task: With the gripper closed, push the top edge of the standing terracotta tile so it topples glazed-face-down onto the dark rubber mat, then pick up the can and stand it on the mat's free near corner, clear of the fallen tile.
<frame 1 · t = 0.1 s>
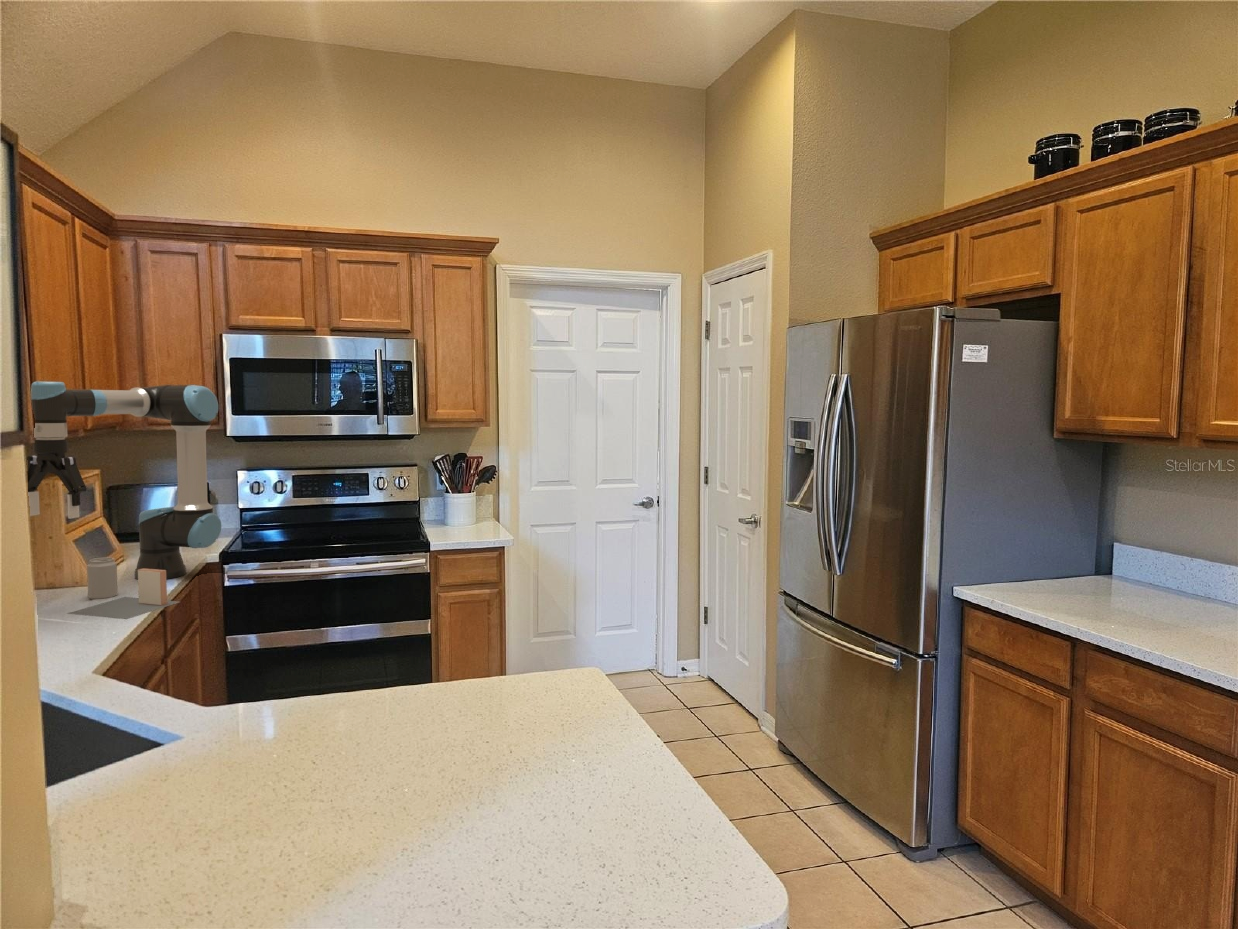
hand: (53, 516, 211), 28 cm above the countertop, fingers open, 13 cm apart
tile: (153, 603, 226), point 1 cm above the countertop, touching mat
mat: (125, 609, 222), on the countertop
can: (103, 598, 234), on the countertop
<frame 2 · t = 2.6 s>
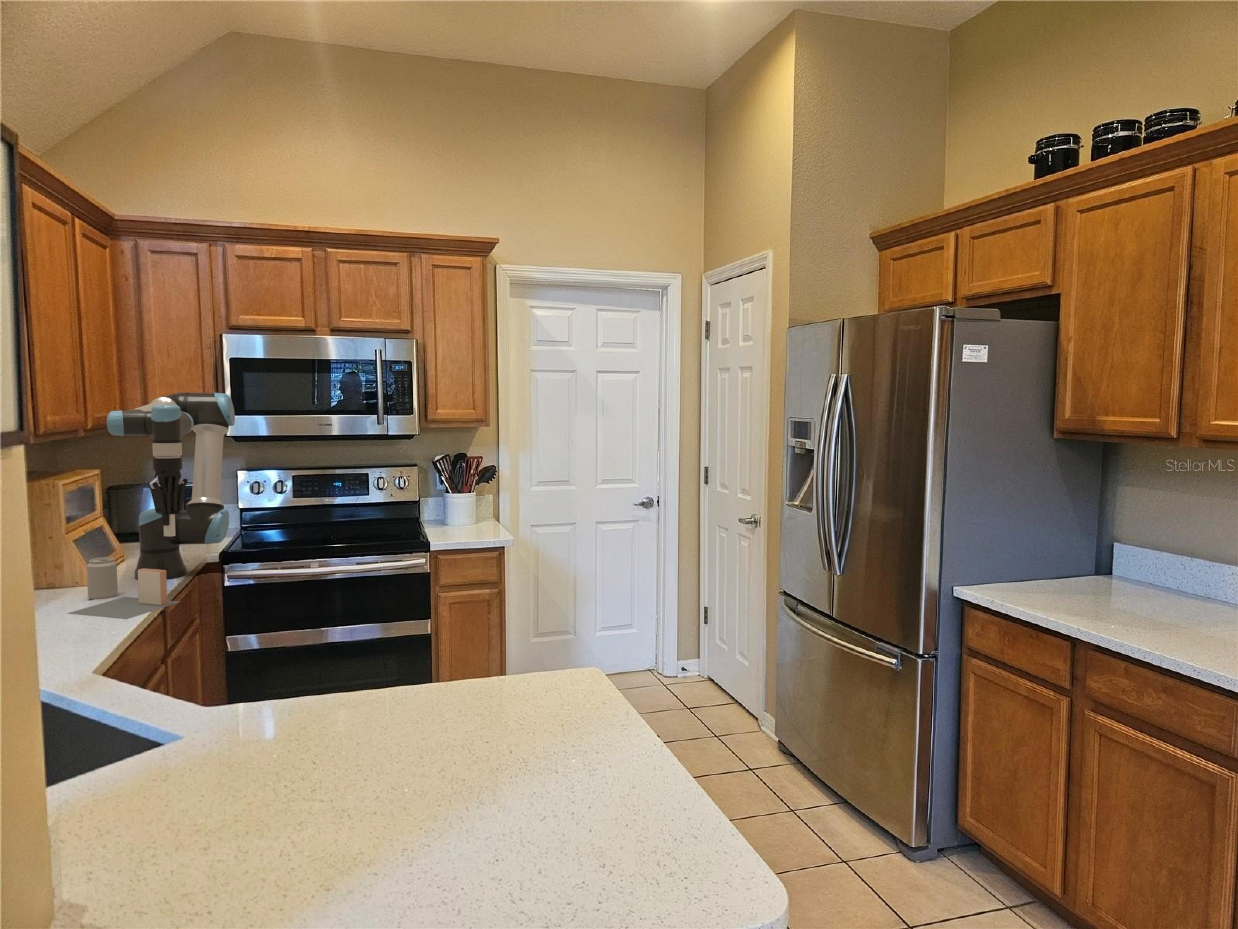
hand: (169, 535, 231), 20 cm above the countertop, fingers closed
nothing on the countertop moved.
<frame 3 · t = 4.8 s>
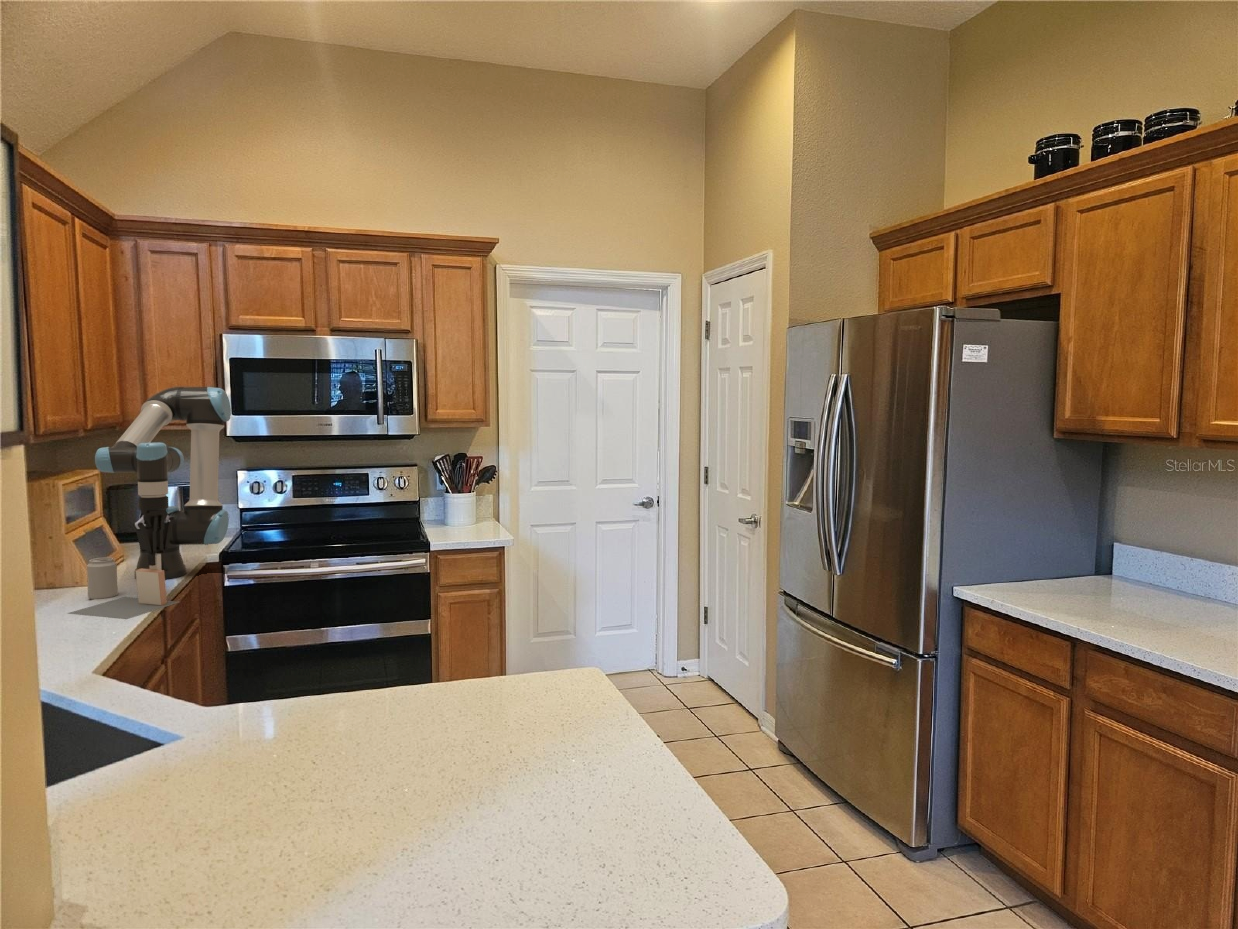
hand: (155, 575, 227), 9 cm above the countertop, fingers closed
tile: (152, 603, 226), point 1 cm above the countertop, touching gripper, mat
everything else where it was.
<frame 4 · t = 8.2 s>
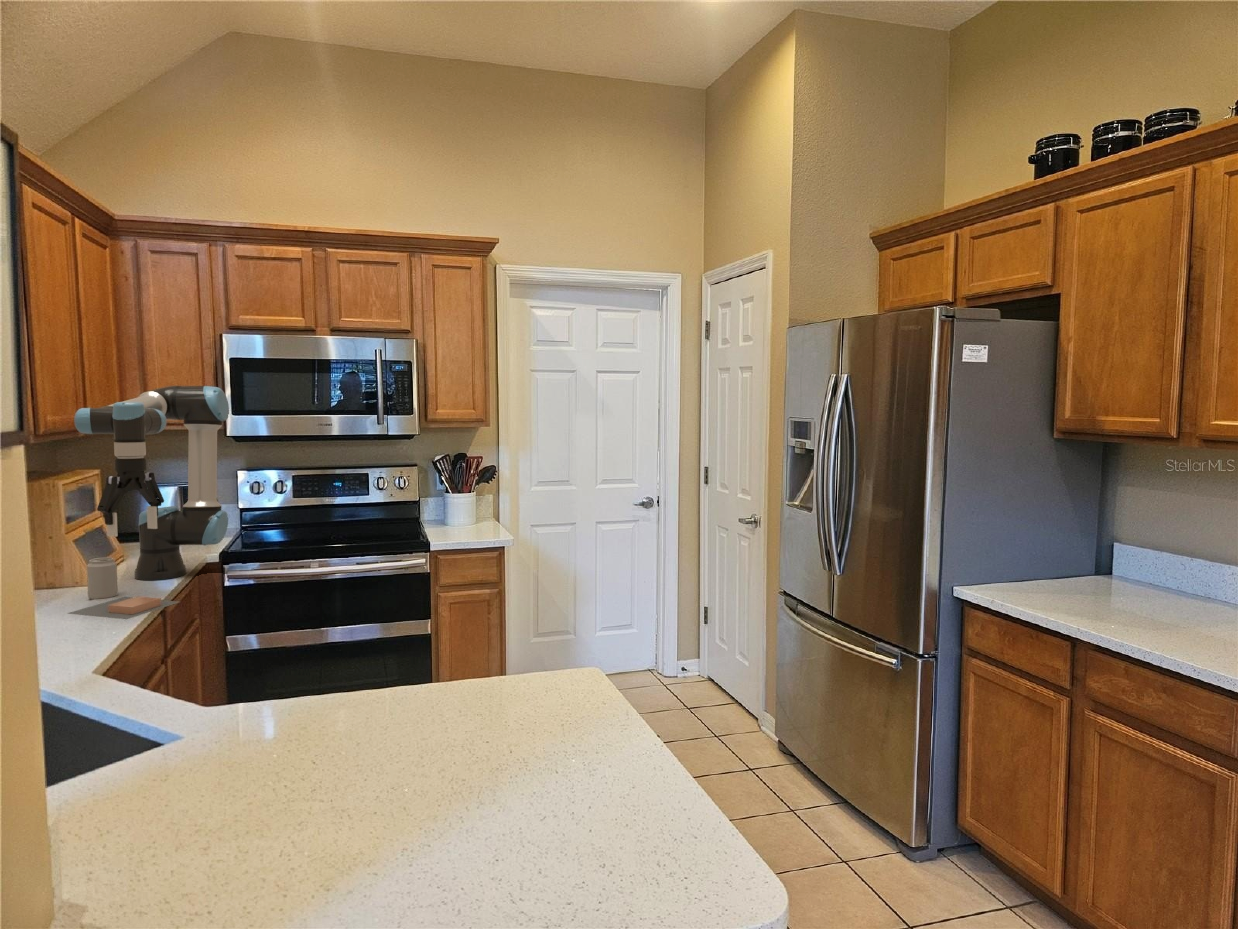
hand: (133, 532, 219), 23 cm above the countertop, fingers open, 13 cm apart
tile: (149, 600, 225), point 2 cm above the countertop, tilted 90°, touching mat
everything else where it was.
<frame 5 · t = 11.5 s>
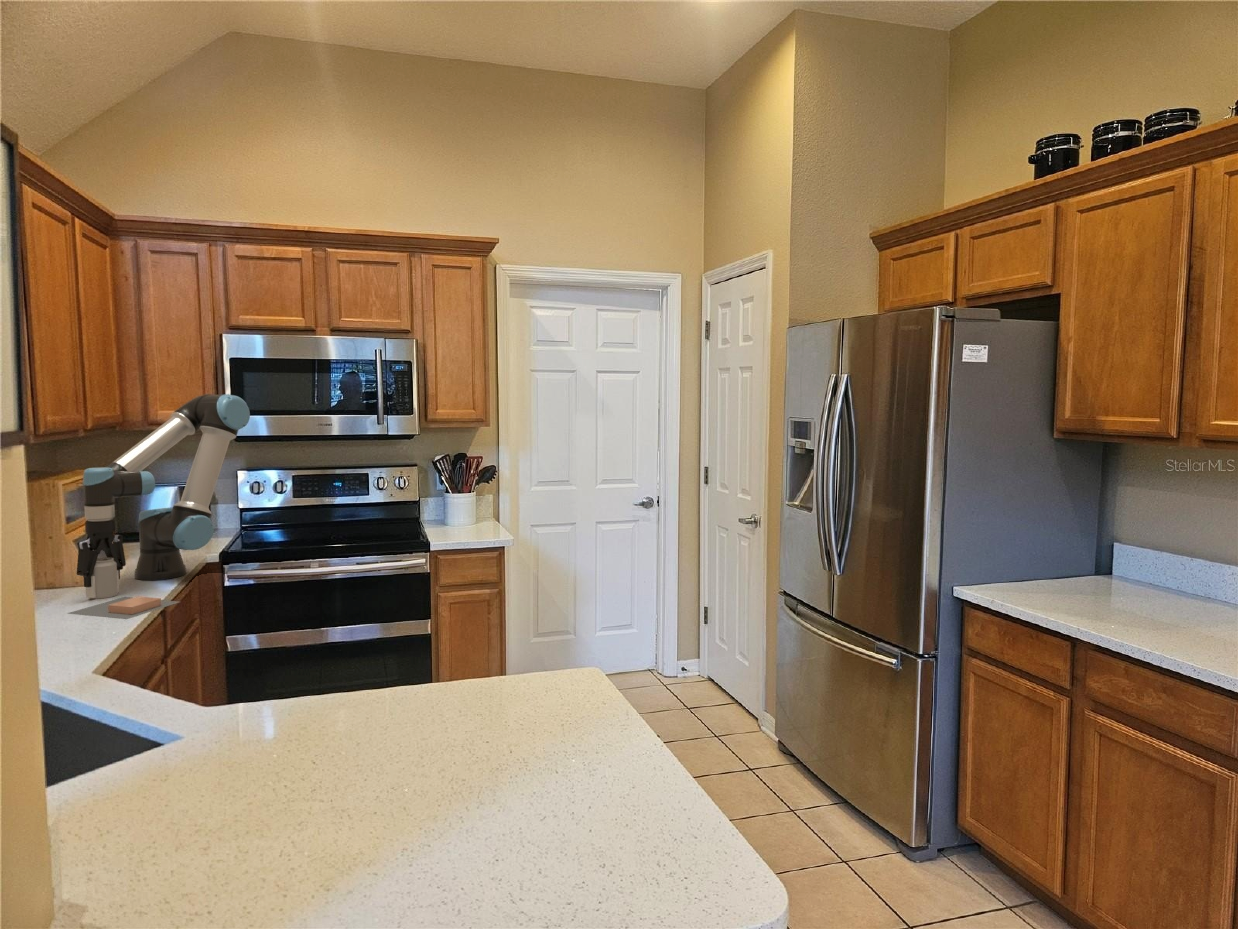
hand: (102, 594, 234), 1 cm above the countertop, fingers closed on can, 7 cm apart
can: (103, 598, 234), on the countertop, touching gripper
everything else where it was.
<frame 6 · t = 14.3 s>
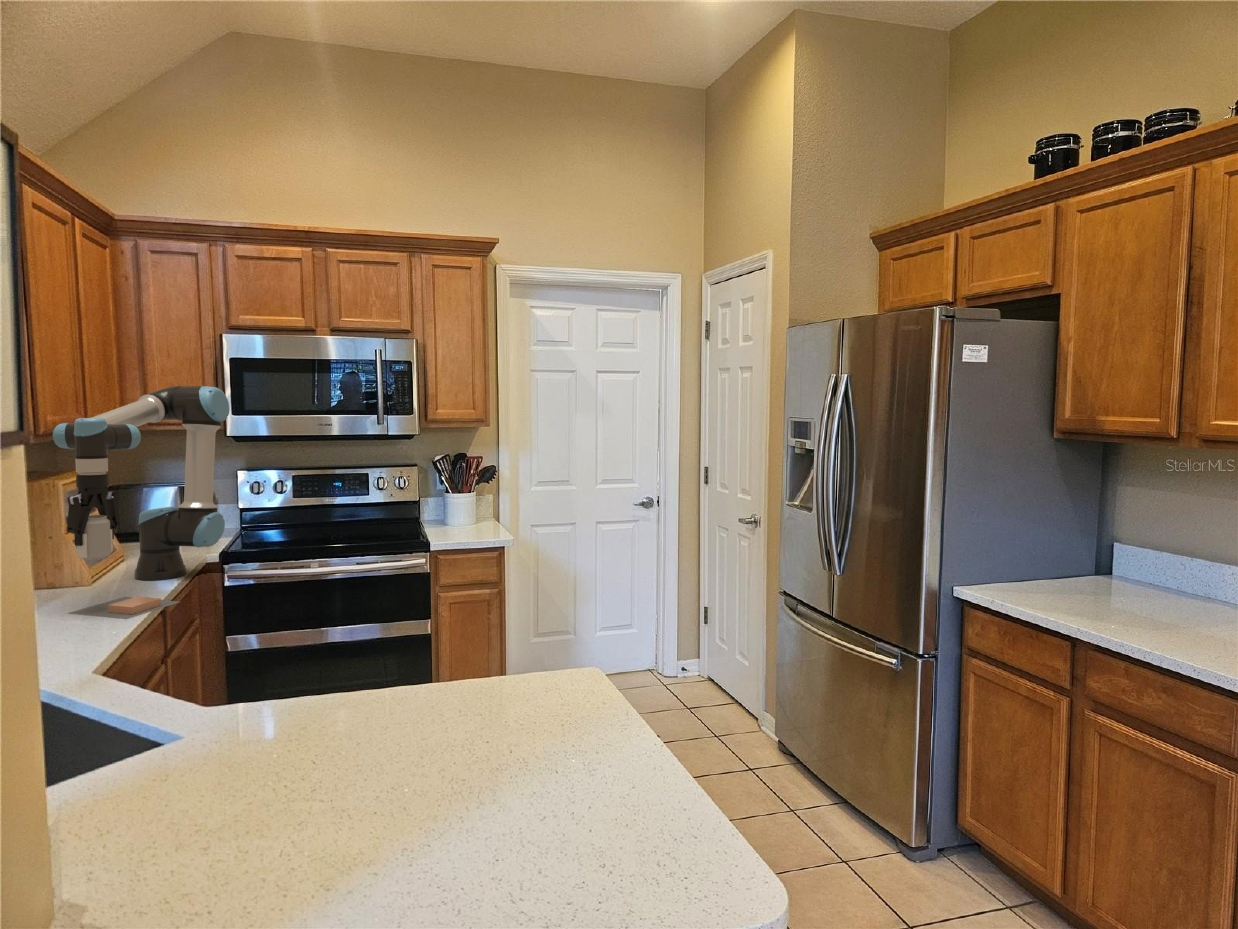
hand: (95, 554, 218), 16 cm above the countertop, fingers closed on can, 7 cm apart
can: (95, 558, 218), point 15 cm above the countertop, touching gripper
everything else where it was.
when the fingers open (3 cm above the countertop, at t = 17.0 s): can drops 1 cm, resting on mat.
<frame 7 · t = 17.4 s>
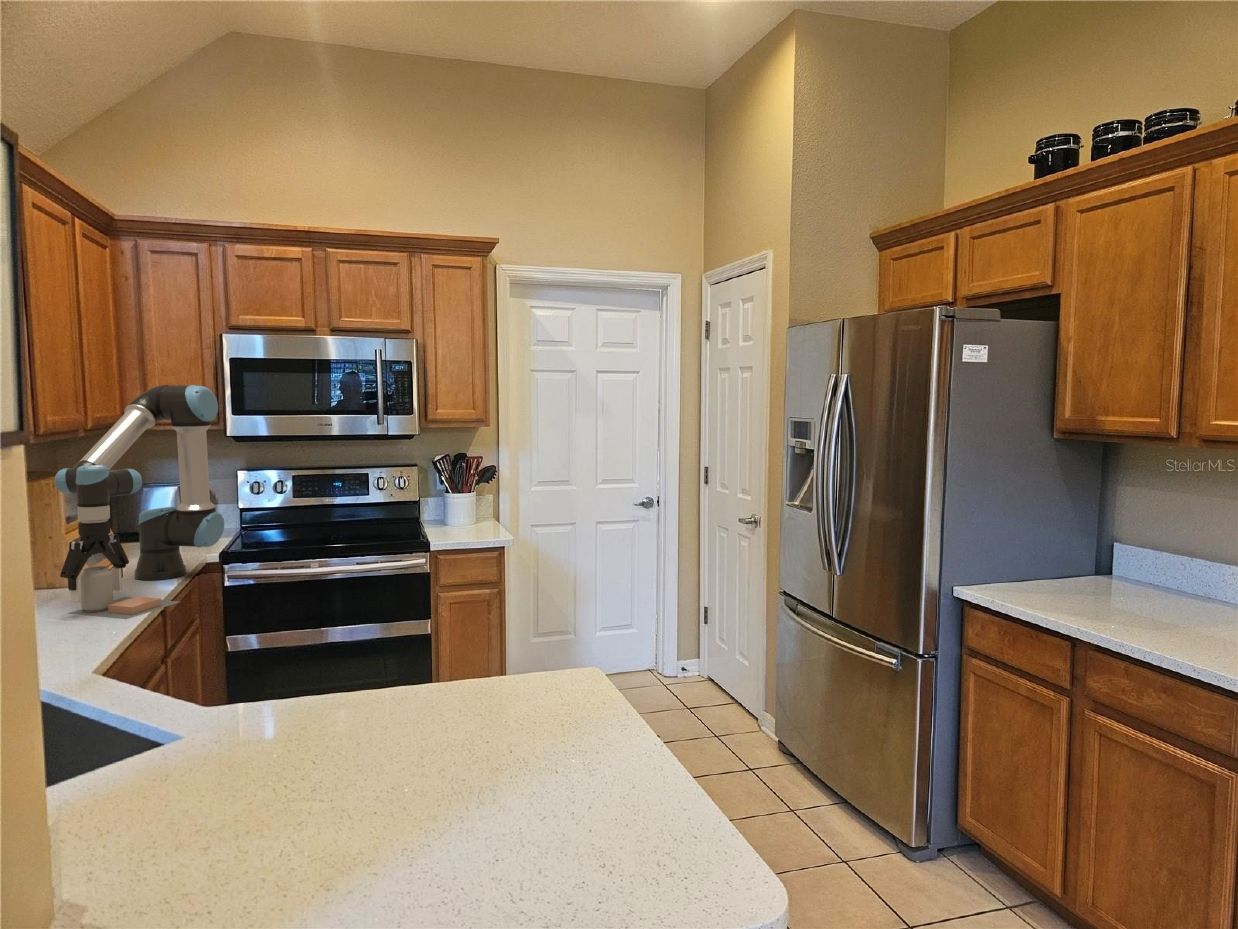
hand: (97, 595, 219), 5 cm above the countertop, fingers open, 12 cm apart
can: (97, 610, 219), resting on mat
everything else where it was.
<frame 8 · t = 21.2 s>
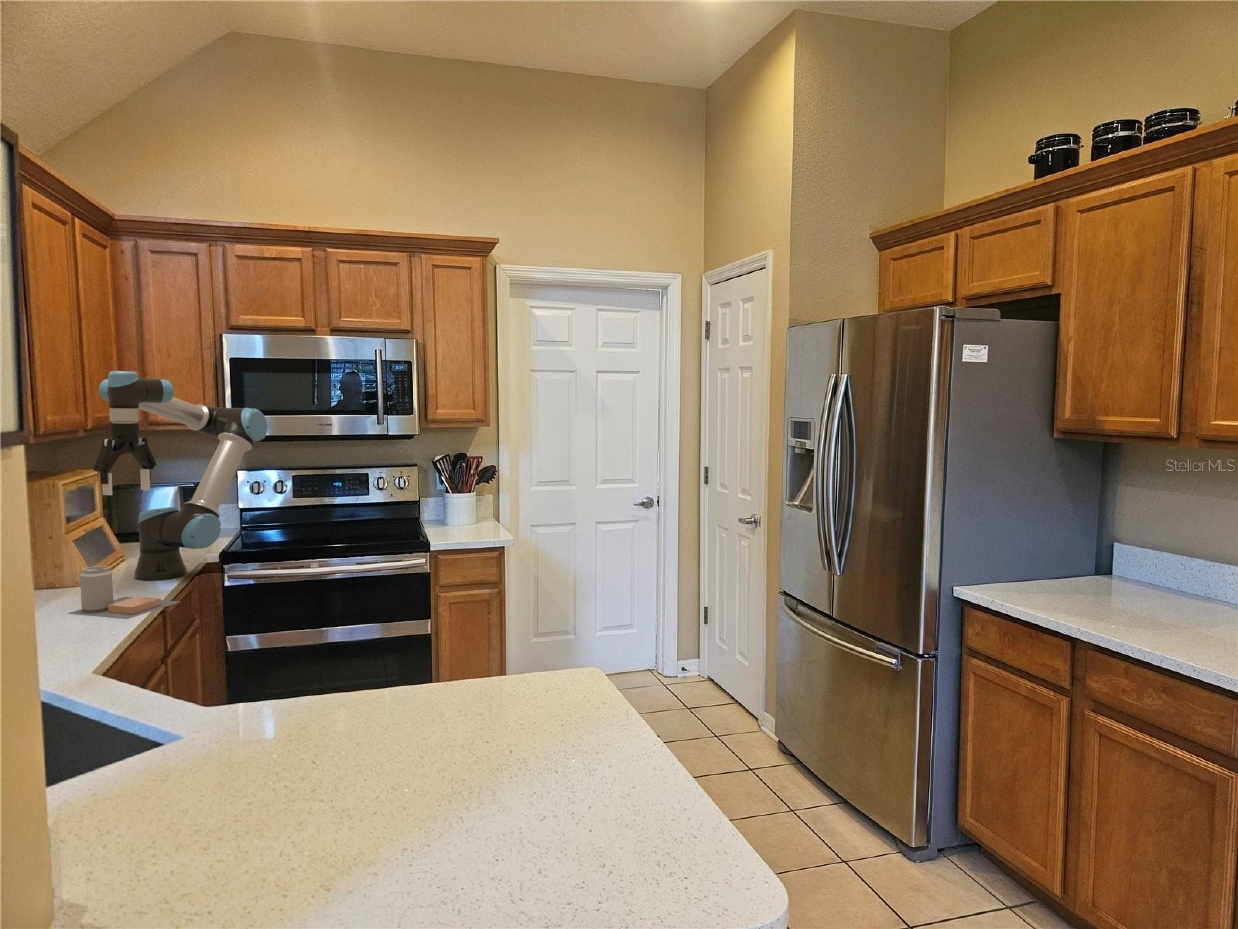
hand: (127, 492, 235), 32 cm above the countertop, fingers open, 13 cm apart
nothing on the countertop moved.
at the end: tile tilted 90°; can inside the target area (0.4 cm from its centre), resting on mat; can tilted 0° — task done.
